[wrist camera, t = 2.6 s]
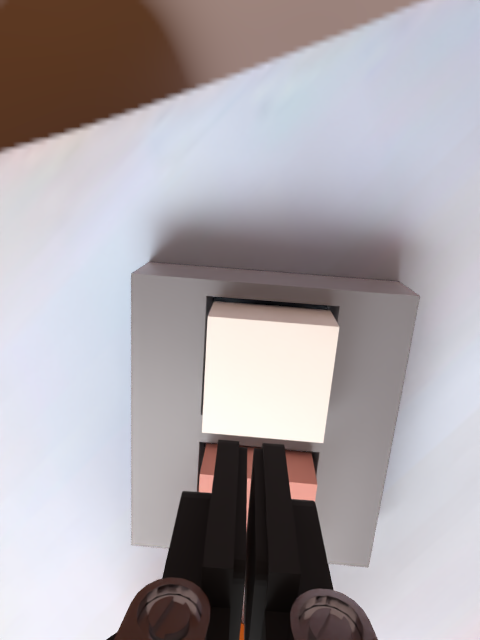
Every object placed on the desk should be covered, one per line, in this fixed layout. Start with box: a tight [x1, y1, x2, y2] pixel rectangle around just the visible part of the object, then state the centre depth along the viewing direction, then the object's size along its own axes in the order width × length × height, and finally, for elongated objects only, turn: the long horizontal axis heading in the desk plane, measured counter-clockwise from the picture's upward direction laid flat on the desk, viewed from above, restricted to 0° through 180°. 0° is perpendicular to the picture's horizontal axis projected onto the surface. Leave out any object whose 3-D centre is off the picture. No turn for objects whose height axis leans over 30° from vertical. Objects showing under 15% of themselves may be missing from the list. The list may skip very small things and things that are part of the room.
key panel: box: [131, 262, 420, 567], centre depth 22 cm, size 12×14×3 cm
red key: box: [199, 443, 317, 531], centre depth 21 cm, size 5×5×2 cm
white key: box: [202, 301, 339, 443], centre depth 19 cm, size 5×5×2 cm
